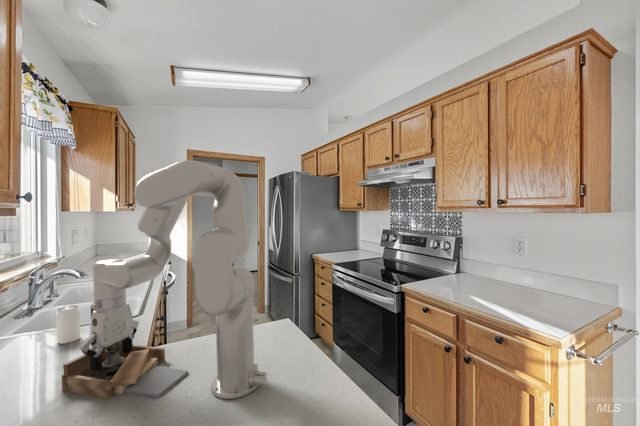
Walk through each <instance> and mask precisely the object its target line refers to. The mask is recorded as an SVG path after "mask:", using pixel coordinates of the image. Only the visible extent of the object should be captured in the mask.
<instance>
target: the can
mask: <svg viewBox="0 0 640 426" xmlns="http://www.w3.org/2000/svg"><path fill="white" fill-rule="evenodd" d="M78 307H79V306H78V305H66V306H63V307H61V308H60V307H59V308H58V309H57V312H56V314H55V315H56V316H55V317H56V320H55V321H56V339H57V343H58V344H59V345H64V344H70V343H74V342H76V341H78V340H79V339H80V338H81V317H80V309H79V308H78Z"/></svg>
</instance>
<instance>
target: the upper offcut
mask: <svg viewBox="0 0 640 426" xmlns="http://www.w3.org/2000/svg"><path fill="white" fill-rule="evenodd" d="M149 357H150V353H149V349H146V350H139V351H133V352H130V354H129V355H128V357H127V358H125V361H124V362H123V364H122V365H121V367H120V368H119V370H118V371H117V373H116V374H115V376H114V377H113V378H112V379H113V387H118V386H124V385H129V384H135V383H136V381H137V380H138V378H139V376H140V374H141V372H142V370H143V368H144V367H145V365H146V363H147V361H148V359H149Z"/></svg>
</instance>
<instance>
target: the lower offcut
mask: <svg viewBox="0 0 640 426" xmlns="http://www.w3.org/2000/svg"><path fill="white" fill-rule="evenodd" d="M158 363H159V362H157V358H149V359H148V361H147V363H146V365H145V367H144V368H143V370H142V372H141V374H140V376H139V378H140V377H142V376H143V375H144V374H146V373H147V372H149V371H150V370H152V369H153V368H155V367H156V366H158ZM139 378H138V379H139ZM109 381H112V391H113V394H117V395H118V394H121V395H122V394H123V393H125V392H124V388H125V387H127V386H128V385H124V386H118V387H113V378H112V379H109ZM129 385H130V384H129Z"/></svg>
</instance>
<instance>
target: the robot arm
mask: <svg viewBox="0 0 640 426" xmlns="http://www.w3.org/2000/svg"><path fill="white" fill-rule="evenodd" d="M191 196H201V197H202V196H203V197H205V196H206V197H213V198H214V202H213V205H212V209H211V210H212V211H211V218H212V229H211V230H208V231H205V232H204V233H202V234H201V235H200V236H199V237H198V239H196V242H195V244H194V248H193V250H192V251H193V252H192V258H193V259H192V261H193V276H194V289H195V299H196V303H197V304H198V307H199V308H200V310H201V311H202V312H203V313H204V314H206V315H207V316H211V317H216V318H215V332H216V333H215V337H216V339H215V340H216V360H217V361H216V366H217V367H216V371H217V376H216V377H215V378H213V380H212V382H211V393H212V394H213V395H214V396H215V397H218V398H219V399H224V400H225V399H226V400H231V399H233V400H234V399H238V398H239V399H240V398H241V397H242V398H243V397H245V396H247V395H249V394H251V393H253V392H254V391H255V390H256V389H257V388H258V387H259V385H260V386H266V385H267V383H268V377H267V374H268V373H267V372H266V371H259V369H258V367H259V364H257V363H255V351H254V349H255V347H254V344H255V343H254V301H255V293H256V291H255V290H256V284H255V283H256V282H255V278H254V275H253V274H252V272H251V271H250V270H249V269H247V268H246V267H244V266H239V265H237V266H233V264H235V263H236V262H238V261H241V260H242V259H243V258H245V256H246V255H247V253H248V249H249V240H248V228H247V216H246V202H245V201H246V200H245V199H246V198H245V189H244V185H243V183H242V181H241V179H240V178H239V177H238V176H237V175H236V174H235V173H234V172H232V171H231V170H229V169H228V168H227V169H226V168H224V167H222V166H219V165H215V164H213V163H211V164H210V163H206V162H202V161H198V160H193V159H192V160H191V159H189V160H181V161H179V162H175V163H173V164H171V165H170V164H169V166H165V167H164V168H161V169H158V170H155V171H154V172H151V173H149V174H146V175H145V176H143V177H142V178H141V179H140V180H139V181H137V183H136V184H135V187H134V191H133V197H134V199H135V201H136V203H137V204H138V205H139V206H140V207H141V208H144V211H143V212H142V215H141V216H140V219H139V220H138V222H137V228H138V230H139V232H141V234H142V235H145V236H146V237H148V238H150V242H149V243H150V244H149V246H148V248H147V250H146V252H145V254H144V256H140V257H136V258H131V259H128V260H123V259H120V258H110V259H109V258H108V259H104V260H103V259H102V260H97V261H96V262H95V263H94V264H93V266H92V273H93V274H92V278H93V281H92V282H93V291H94V293H93V303H94V304H93V303H91V305H90V309H91V308H92V309H95V311H93V313H92V318H91V317H90V326H89V327H90V330H89V336H88V337H87V338H86V340H84V341H83V342H82V343H81V344H80V346H79V347H78V348H79V350H80V351H81V352H82V355H84V354H85V355H87V356H88V357H90V365H91V370H95V371H100V370H102V356H99V355H100V353H101V351H102V350H103V348H106V347H109V346H111V345H113V344H115V343H117V342H119V341H121V340H123V341H122V347H123V353H130V352H133V346H132V344H133V340H134V339H135V334H136V333H137V331H138V329H137V328H138V327H139V325H140V324H139V323H140V321H139V320H134V319H133V314H132V313H133V312H132V309H131V305H130V302H128V301H127V289H130V288H133V287H137V286H139V285H141V284H144V283H147V282H149V281H153V280H155V279H157V278H158V277H159V275H160V274H161V273H162V272H163V270H164V269H165V267H166V265H167V264H168V261H169V258H170V257H171V253H172V240H171V233H172V232H173V230H174V227H175V225H176V224H177V222H178V220H179V218H180V216H181V214H182V212H183V210H184V207H185V206H186V205H187V202H188V200H189V197H191ZM90 346H91V347H90ZM97 347H98V348H97ZM96 348H97V350H96ZM95 350H96V352H95Z"/></svg>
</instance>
